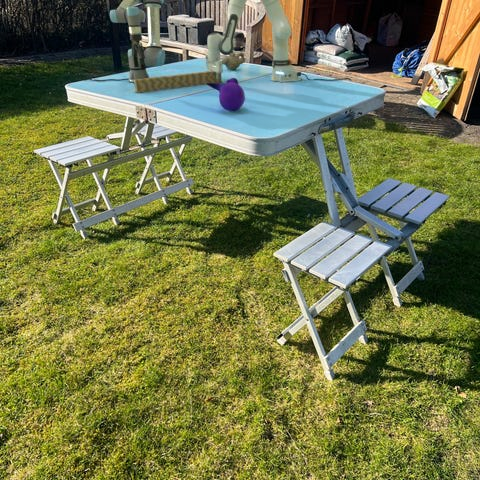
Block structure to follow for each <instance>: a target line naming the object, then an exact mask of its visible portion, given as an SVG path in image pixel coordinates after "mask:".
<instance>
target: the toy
mask: <svg viewBox="0 0 480 480" xmlns="http://www.w3.org/2000/svg"><path fill="white" fill-rule="evenodd" d="M205 85H206V86H208V87H210V88H212V89H214V90H216V91H218V92H219V93H218V101H219V104H220V106H221V107H222V108H223V109H224V110H226V111H229V112H236V111H238V110H240V109H241V108H242V107H243V105H244V103H245V101H246V94H245V90H244V89H243V87H242V86H241V85H240V84H239V81H238V79H237V78H236V77H232V78H230V79H229V78H228V79H226V81H225V83H222V82H218V83H206V84H205Z"/></svg>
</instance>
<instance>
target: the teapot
mask: <svg viewBox="0 0 480 480" xmlns="http://www.w3.org/2000/svg"><path fill="white" fill-rule="evenodd" d="M239 58H240V59H239ZM221 62H222V65H224V66H225V68H226V69H227V70H228V71H235V70H237V69H239V67H240V66H241V65H243V64H244V63H245V54H244V52H242V51H240V52H239V53H237V54H236V53H235V52H234V51H233V52H232V53H231V54H229V55H228V56H224V57H222V59H221Z"/></svg>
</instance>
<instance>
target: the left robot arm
mask: <svg viewBox="0 0 480 480" xmlns="http://www.w3.org/2000/svg"><path fill="white" fill-rule="evenodd" d="M164 1H165V0H122V1H121V3H120V4H119V6H118V7H117V9H111V10H110V11H109V17H110V21H111V22H112V23H117V24H119V23H120V24H121V23H122V24H123V23H128V33H129V39H130V41H131V48H130V49H128V50H127V57H128V66H129V76H128V78H119V79H117V78H107V79H95V78H94V80H92V79H93V78H88V77H87V78H85V79H84V80H83V81H84V82H86V81H93V82H94V81H95V82H107V81H115V82H116V81H117V82H118V81H119V82H120V81H121V82H122V81H128V82H129V83H133V84H134V80H136V79H144V78H150V75H149V73H148V71H147V67H163V65H165V61H166V51H165V49H163V46H162V45H161V25H160V22H161V21H160V9H161V8H162V4H164ZM137 5H144V7H145V8H146V12H147V13H145V11H144V10H143V9H140V8H139V7H138V6H137ZM146 14H147V15H146ZM146 16H147V17H146ZM146 18H147V44H146V46H145V48H144V47H143V43H142V42H141V41H143V36H142V35H143V34H142V27H141V23H143V22H145V20H146Z"/></svg>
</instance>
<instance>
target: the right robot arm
mask: <svg viewBox="0 0 480 480" xmlns="http://www.w3.org/2000/svg"><path fill="white" fill-rule="evenodd" d="M247 1H248V0H229V1H228V4H227V10H226V19H227V23H226V28H225V32H224V35H222V34H221V33H219V32H212V33H209V34H208V36H207V39H206V41H207V45H206V46H207V55H205V65H206V69H207V71H214V72H216V76H215V78H216V79H218V76H219V73H221V74H223V72H224V66H223V65H224V64H222V62H221V61H222V59H221V55H223V56H229V54H231V53H232V52H233V53H234V48H235V47H234V37H235V34H236V31H237V26H238V24H239V23H240V20H241V18H242V16H243V13H244V10H245V6H246V3H247ZM261 2H262V5H263V7H264V10H265V13H266V15H267V18H268V20H269V22H270V24H271V36H272V46H273V48H272V49H273V51H272V53H273V55H272V56H273V57H272V58H273V59H272V63H271V64H272V73H271V77H270V80H271V81H273V82H280V83H288V82H299V81H302V78H301V76H304V77H306V80H307V81H327V82H332V81H333V82H335V81H342V80H349V81H352V79H351V78H350V77H344V78H335V79H334V78H333V79H325V78H314V79H313V78H312V79H311V78H309V77H308V75H307V74H305V73H302V71H298V70H297V69H296V68H295V67H294V66H293V65H292V64H293V60H291V59H289V53H290V51H289V50H290V46H289V38H291V36H292V31H293V30H292V26H291V25H290V22H289V20H288V18H287V16H286V14H285V12H284V9H283V6H282V4H281V1H280V0H261ZM350 127H351V126H350V125H348V130H347V137H349V136H350Z"/></svg>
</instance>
